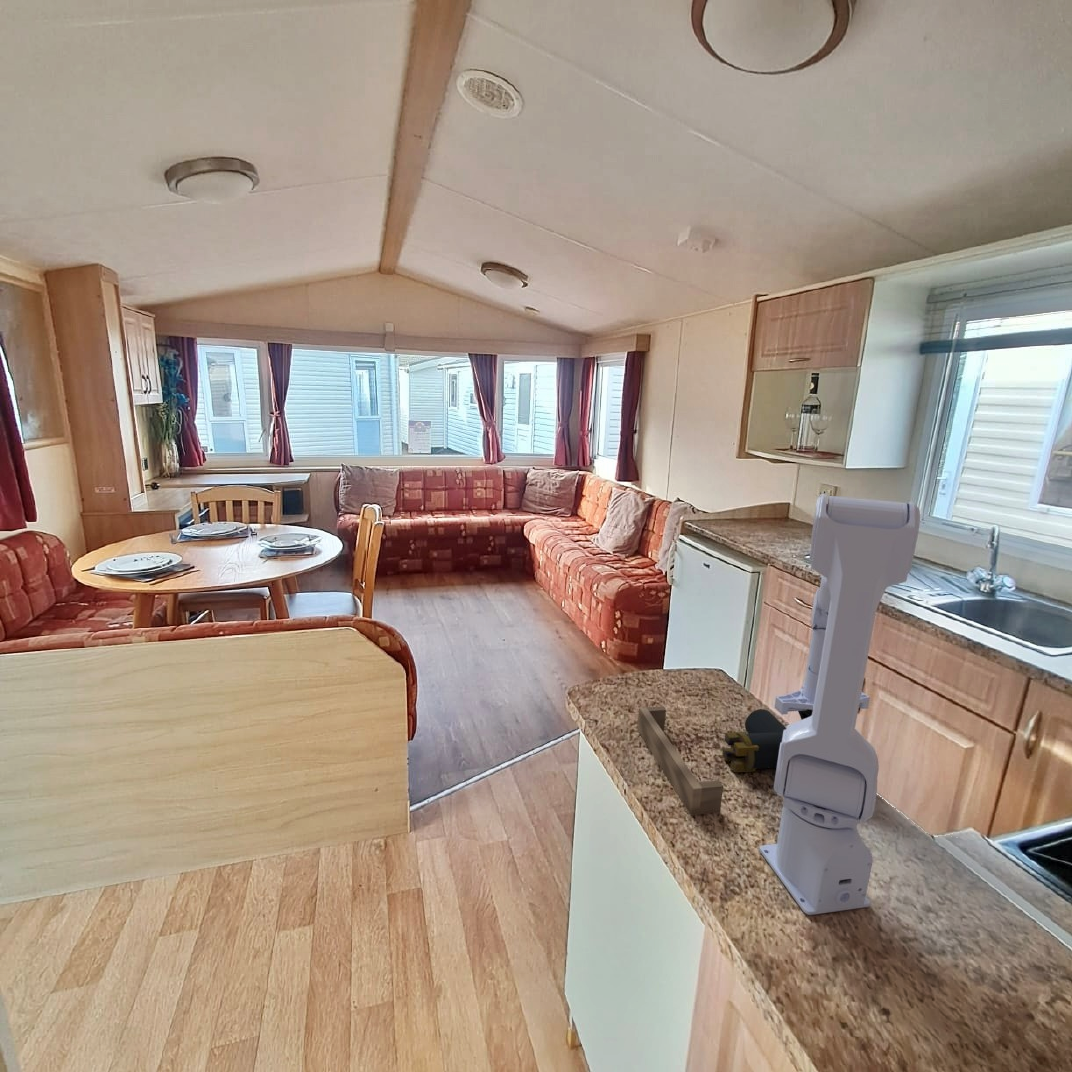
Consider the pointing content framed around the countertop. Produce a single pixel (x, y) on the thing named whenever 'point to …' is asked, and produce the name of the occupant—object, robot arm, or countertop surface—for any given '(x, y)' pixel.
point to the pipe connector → (755, 743)
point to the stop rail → (677, 765)
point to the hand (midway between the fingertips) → (814, 750)
